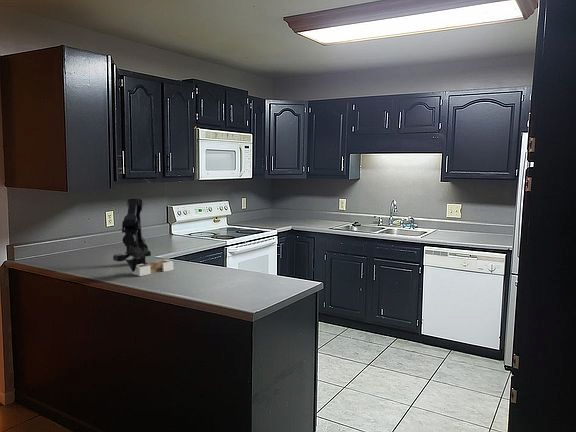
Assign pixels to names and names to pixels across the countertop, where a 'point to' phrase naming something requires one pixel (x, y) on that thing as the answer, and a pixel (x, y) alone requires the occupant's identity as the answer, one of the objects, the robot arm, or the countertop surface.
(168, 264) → the cap
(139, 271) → the cap
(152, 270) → the brown bar
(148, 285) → the countertop surface
